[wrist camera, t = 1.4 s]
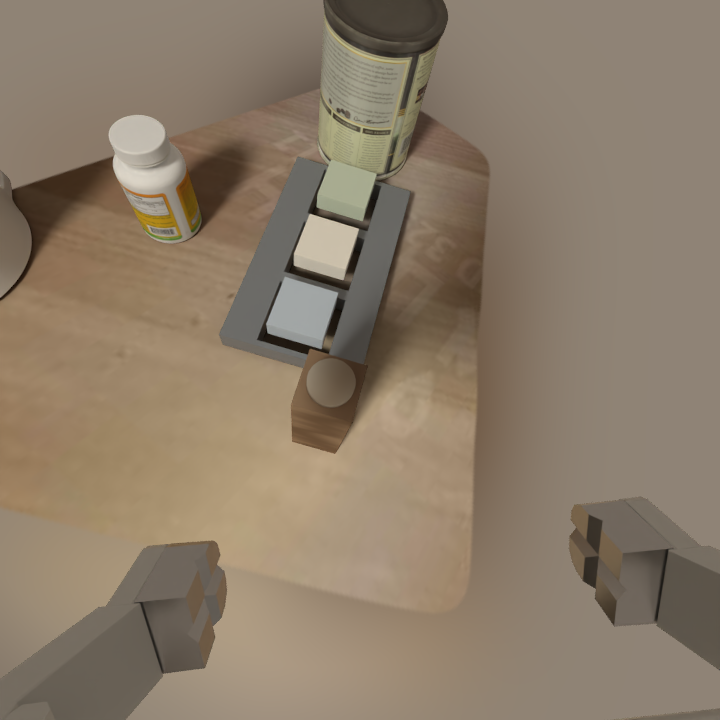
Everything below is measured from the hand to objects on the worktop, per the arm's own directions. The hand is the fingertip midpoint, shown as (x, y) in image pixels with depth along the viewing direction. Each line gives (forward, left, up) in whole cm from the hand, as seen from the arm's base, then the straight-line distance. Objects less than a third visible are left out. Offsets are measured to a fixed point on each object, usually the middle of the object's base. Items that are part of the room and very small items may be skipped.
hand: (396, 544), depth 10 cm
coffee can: (-7, +39, -24) cm, 47 cm away
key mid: (-7, +23, -21) cm, 32 cm away
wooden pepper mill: (-3, +8, -24) cm, 25 cm away
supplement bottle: (-22, +23, -24) cm, 40 cm away
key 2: (-7, +30, -21) cm, 37 cm away
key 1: (-7, +16, -21) cm, 27 cm away
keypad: (-7, +23, -24) cm, 34 cm away
